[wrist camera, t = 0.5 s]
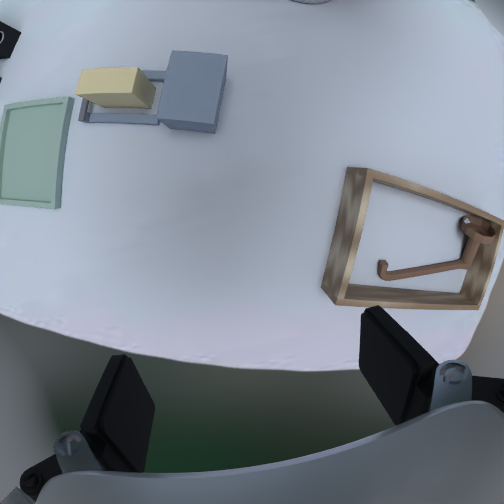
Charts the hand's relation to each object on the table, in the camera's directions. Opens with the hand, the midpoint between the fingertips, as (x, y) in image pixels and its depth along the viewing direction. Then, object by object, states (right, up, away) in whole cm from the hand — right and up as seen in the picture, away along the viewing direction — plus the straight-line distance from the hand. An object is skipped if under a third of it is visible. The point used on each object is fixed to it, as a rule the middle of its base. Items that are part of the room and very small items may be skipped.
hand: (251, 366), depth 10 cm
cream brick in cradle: (-16, +25, +21) cm, 36 cm away
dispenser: (-13, +24, +21) cm, 35 cm away
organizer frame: (+28, +6, +32) cm, 43 cm away
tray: (-33, +19, +20) cm, 44 cm away
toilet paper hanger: (+32, +6, +33) cm, 46 cm away
